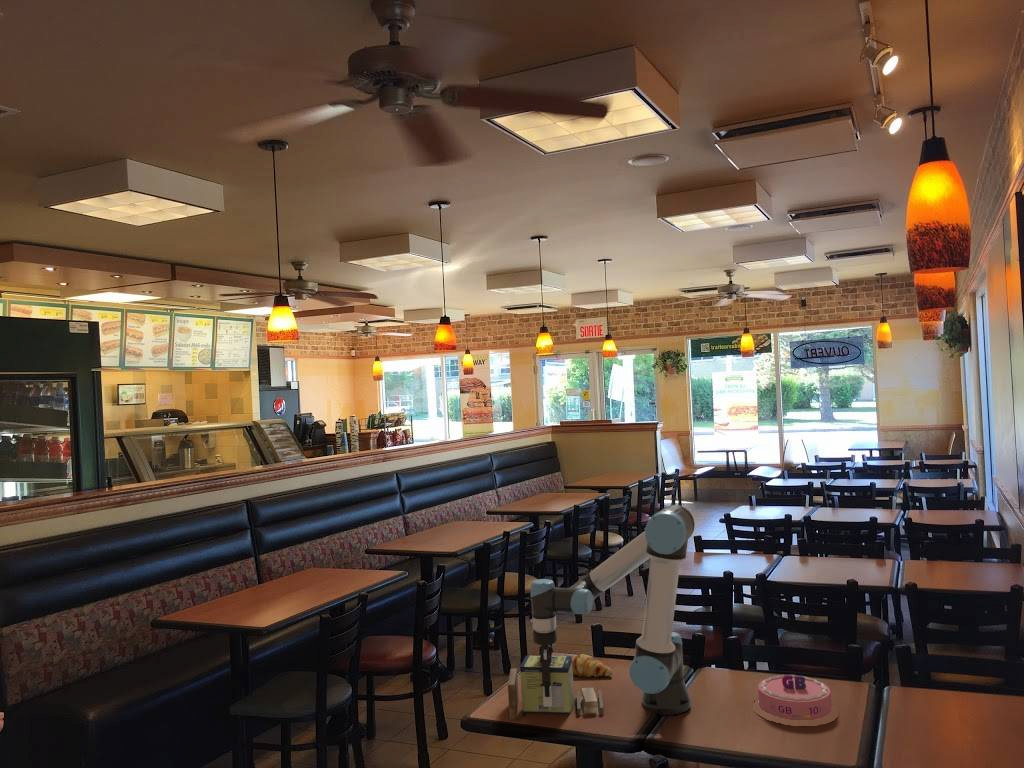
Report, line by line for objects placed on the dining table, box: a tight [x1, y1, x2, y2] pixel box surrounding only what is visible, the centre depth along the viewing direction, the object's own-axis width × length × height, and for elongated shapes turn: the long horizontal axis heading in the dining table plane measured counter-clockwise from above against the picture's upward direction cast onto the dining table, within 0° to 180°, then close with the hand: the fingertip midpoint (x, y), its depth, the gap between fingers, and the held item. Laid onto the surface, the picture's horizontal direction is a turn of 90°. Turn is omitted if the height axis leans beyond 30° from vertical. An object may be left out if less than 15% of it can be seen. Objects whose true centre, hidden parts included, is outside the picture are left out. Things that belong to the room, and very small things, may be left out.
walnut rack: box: [507, 667, 605, 721], centre depth 251 cm, size 29×14×11 cm, turn 86°
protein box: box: [519, 655, 576, 717], centre depth 252 cm, size 10×16×16 cm
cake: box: [757, 674, 833, 720], centre depth 242 cm, size 25×25×11 cm
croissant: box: [571, 653, 613, 678], centre depth 282 cm, size 21×10×8 cm, turn 60°
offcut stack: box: [581, 687, 598, 714], centre depth 251 cm, size 4×12×4 cm, turn 176°
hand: (548, 698), depth 252 cm, fingers closed on protein box, 11 cm apart
